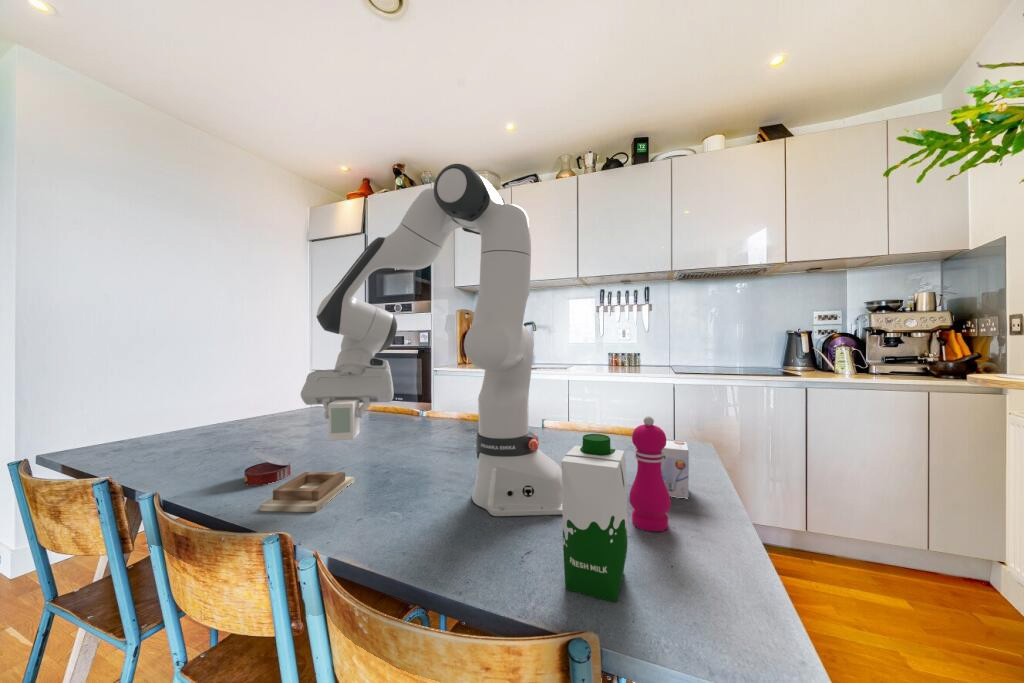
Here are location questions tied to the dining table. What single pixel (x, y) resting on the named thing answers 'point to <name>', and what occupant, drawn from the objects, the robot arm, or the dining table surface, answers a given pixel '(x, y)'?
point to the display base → (307, 492)
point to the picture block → (343, 419)
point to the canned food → (266, 469)
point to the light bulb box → (676, 468)
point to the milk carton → (594, 517)
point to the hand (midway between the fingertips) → (343, 416)
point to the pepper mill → (649, 479)
